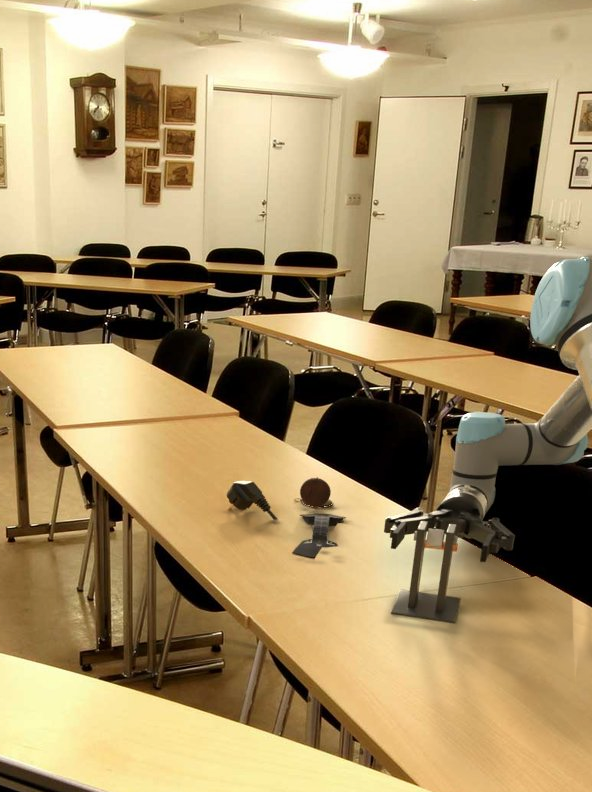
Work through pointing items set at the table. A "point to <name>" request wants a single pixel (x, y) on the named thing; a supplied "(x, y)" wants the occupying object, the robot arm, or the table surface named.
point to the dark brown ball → (315, 493)
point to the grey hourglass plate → (317, 534)
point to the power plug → (247, 497)
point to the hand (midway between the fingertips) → (437, 547)
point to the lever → (436, 540)
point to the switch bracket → (428, 603)
